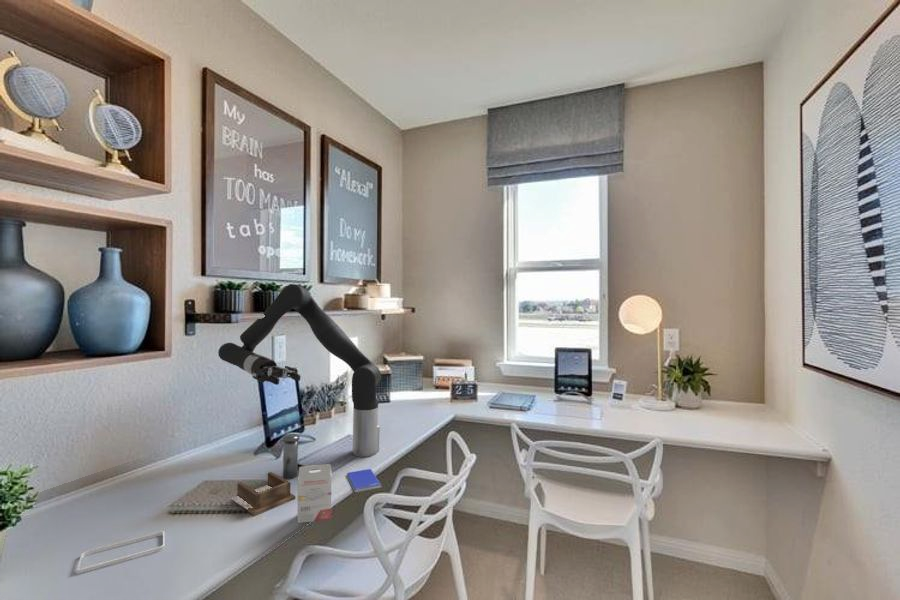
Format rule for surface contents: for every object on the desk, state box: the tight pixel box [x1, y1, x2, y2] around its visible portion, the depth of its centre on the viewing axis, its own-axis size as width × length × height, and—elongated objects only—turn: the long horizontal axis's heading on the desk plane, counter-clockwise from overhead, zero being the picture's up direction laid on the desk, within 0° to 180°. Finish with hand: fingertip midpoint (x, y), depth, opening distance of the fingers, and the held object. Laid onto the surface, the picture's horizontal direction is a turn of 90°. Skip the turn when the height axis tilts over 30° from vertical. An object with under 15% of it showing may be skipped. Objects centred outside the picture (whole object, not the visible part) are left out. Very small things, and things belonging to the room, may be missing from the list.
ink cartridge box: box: [296, 463, 333, 524], centre depth 107 cm, size 9×5×15 cm, turn 106°
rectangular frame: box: [76, 530, 166, 575], centre depth 90 cm, size 7×1×15 cm
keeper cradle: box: [236, 471, 296, 517], centre depth 115 cm, size 12×13×5 cm
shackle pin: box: [281, 433, 300, 480], centre depth 130 cm, size 5×5×13 cm
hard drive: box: [346, 468, 382, 493], centre depth 128 cm, size 2×8×12 cm
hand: (289, 380), depth 136 cm, fingers open, 8 cm apart
